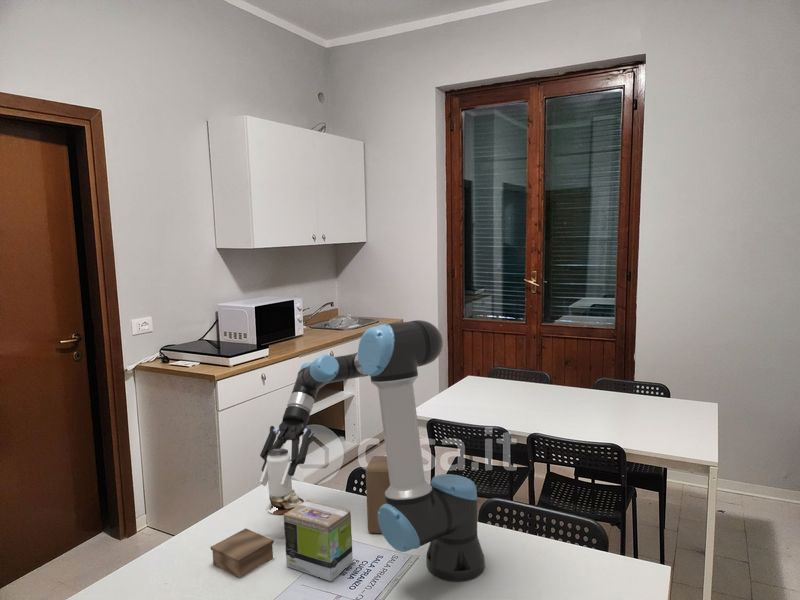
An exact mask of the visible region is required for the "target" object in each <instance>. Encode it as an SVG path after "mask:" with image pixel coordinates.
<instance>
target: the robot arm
mask: <svg viewBox="0 0 800 600" xmlns="http://www.w3.org/2000/svg"><path fill="white" fill-rule="evenodd" d="M443 342H444V340H443V337H442V334H441V332H440V330H439V329H438V328H437V326H435V325H434V324H433V323H431V322H428V321H427V320H426V321H425V320H418V319H417V320H410V321H403V322H402V321H401V322H396V323H388V324H386V323H384V324H380V325H376V326H371V327H369V328H367V329H366V330H365V331H364V332H363V334H362V336H361V337H360V339H359V343H358V349H357V352H354V353H352V354H351V353H350V354H345V355H339V356H332V355H328V354H322V355H320V356H319V357H316V358H315V359H314V360H313V361H312V362H304V363H303V364H302V365H300V368H299V370H298V372H297V377H296V379H295V382H294V385H293V388H292V391H291V394H290V397H289V399H288V402H287V404H286V408H285V409H284V410H285V411H284V413H283V415H282V421H281V423H280V424H279V425H278V426H274V425H270V426H269V433H268V436H267V438H266V441H265V443H264V445H263V447H262V450H261V452H260V454H259V457H260V458H261V459H262V460H263V465H262V467H261V472H262V474H261V477H260V478H259V479H260V480H259V483H261V485H263V486H264V487H266V486H267V484H268V472H267V457H268V452H269V451H271V450H274V449H282V447H283V446H284V445H285V444H286V443H287V441H291V452H290V453H291V456H290V462H288V465H287V467H286V470H285V473H284V476H283V479H282V482H281V485H282V486H283V487H284V488H287V487H288V484H289V480H290V477H291V478H292V477H293V476H295V472H296V470H297V467H298V466H299V465H304V464H305V461H306V459H307V454H308V450H309V446H310V442H311V440H312V438H313V437H314V432H313V431H312V429H311V428H307V426H308V423H309V421H310V417H311V415H310V414H311V413H312V409H313V407H314V403H315V400H316V398H317V395H318V392H319V390H321V388H323V387H324V386H326V385H327V384H331V383H336V382H342V381H347V380H352V379H357V378H364V377H368V376H369V377H370V382H371V384H373V385H374V386H375V387H376V388H377V391H378V399H379V405H380V407H379V408H380V413H381V414H380V415H381V421H382V431H383V438H384V447H385V454H386V456H387V464H388V472H389V480H390V486H389V488H388V489H387V490H386V491H385V499H386V504H384V505H382V506H381V507H380V509H379V511H378V522H379V526H380V529H381V532H382V533H381V534H382V535H383V537H384V539H385V540H386V542H387V543H388V545H390V546H391V548H393V549H394V550H395V551H397V552H400V553H406V552H409V551H412V550H417V549H419V548H420V547H422V546H424V545H427V544H428V543H429V546H428V549H427V552H426V556H425V557H426V558H425V559H426V561H425V563H426V568H427V570H428V571H429V572H430V574H431V575H434V577H436V578H439V579H442V580H443V581H444V580H445V581H450V582H463V581H469V580H472V579H474V578H477V577H478V576H480V575H481V574H482V573H483V572H484V570H485V566H486V565H485V554H484V552H483V549H482V546H481V543H480V540H479V538H478V494H477V486H476V484H475V482H474V481H473V480H471V479H470V478H468V477H465V476H462V475H457V474H452V473H451V474H450V473H448V474H447V473H442V474H439V475H435V476H433V477H432V478H431V482H430V483H428V482H427V481H426V480H425V472H424V463H423V456H422V455H423V454H422V445H421V439H420V431H419V423H418V413H417V405H416V401H415V399H416V398H415V390H414V382H415V381H416V380H417V379H418V377H419V373H418V372H419V371H418V368H419V367H422V366H426V365H427V366H428V365H429V364H431V363H433V362H434V361H436V359H437V358H438V357H439V356H440V355H441V352H442V351H443V345H444V343H443ZM302 436H303V437H302ZM301 437H302V440H300V439H301ZM300 441H301V444H300ZM299 447H300V448H299Z"/></svg>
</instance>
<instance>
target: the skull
mask: <svg viewBox="0 0 800 600" xmlns="http://www.w3.org/2000/svg"><path fill="white" fill-rule="evenodd" d="M268 495H269V497H268V498H269V501H270V503H271V505H272V506H274V507H276V508H278V510H276V511H274V512H273V514H272V515H284V514H285V513H287V512H288V511H290V510H292V509H293V508H295V507H297V506H298V505H300V504H302V503H303V502H305V500H304V499H303V498H301V497H300V495H298V494H296V491H295V490H294V489H293V488H292V491H291V493H290V494H289V495H287V496H284V497H272V496H271V495H270V494H269V493H268Z"/></svg>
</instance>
